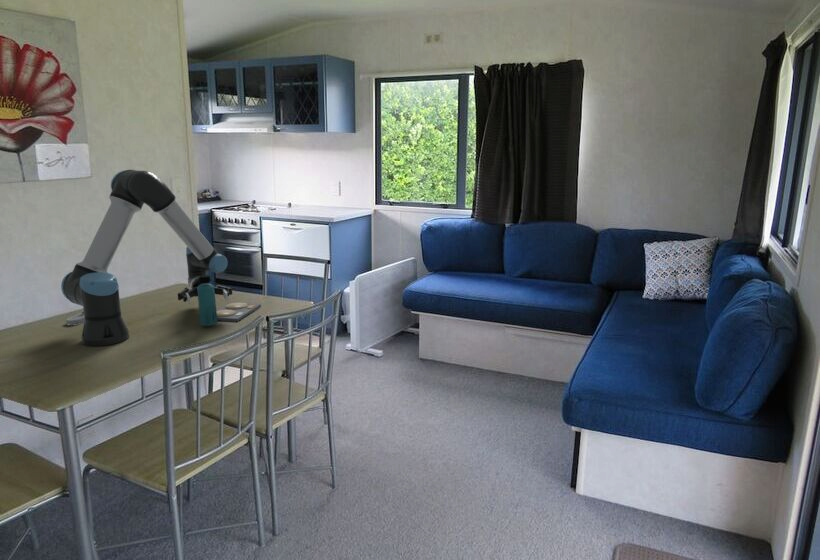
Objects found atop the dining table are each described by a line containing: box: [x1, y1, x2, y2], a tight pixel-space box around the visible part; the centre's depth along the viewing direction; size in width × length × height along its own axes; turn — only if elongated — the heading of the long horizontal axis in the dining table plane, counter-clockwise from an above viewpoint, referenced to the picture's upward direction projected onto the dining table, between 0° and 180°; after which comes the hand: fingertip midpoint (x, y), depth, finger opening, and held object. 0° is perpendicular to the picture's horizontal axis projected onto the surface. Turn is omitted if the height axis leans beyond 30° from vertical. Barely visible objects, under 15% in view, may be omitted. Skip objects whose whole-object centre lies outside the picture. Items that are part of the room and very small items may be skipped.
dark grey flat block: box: [216, 302, 262, 322], centre depth 245 cm, size 22×14×2 cm, turn 170°
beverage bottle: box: [197, 274, 218, 326], centre depth 225 cm, size 6×7×20 cm
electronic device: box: [65, 311, 85, 326], centre depth 235 cm, size 5×10×15 cm
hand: (208, 298), depth 225 cm, fingers open, 13 cm apart
